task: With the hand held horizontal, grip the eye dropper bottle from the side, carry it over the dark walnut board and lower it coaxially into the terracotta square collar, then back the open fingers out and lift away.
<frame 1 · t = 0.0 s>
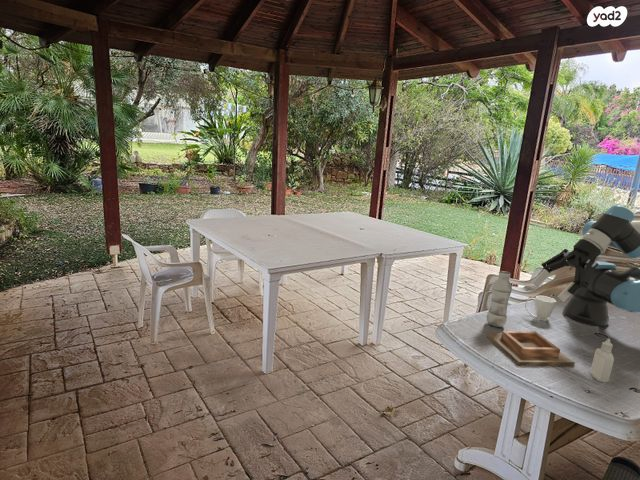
hand: (546, 291, 138), 15 cm above the table, tool tilted 35°, fingers open, 13 cm apart
eye dropper bottle: (598, 378, 115), on the table
collar board: (527, 350, 128), on the table
plastic bottle: (495, 325, 145), on the table
cup: (537, 317, 155), on the table
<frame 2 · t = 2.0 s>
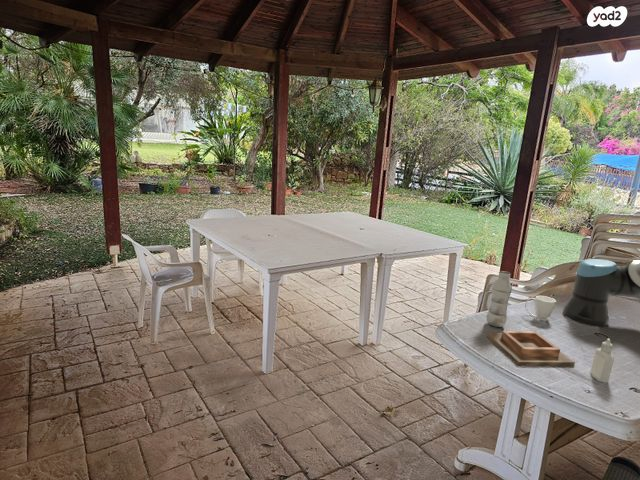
nothing on the table moved.
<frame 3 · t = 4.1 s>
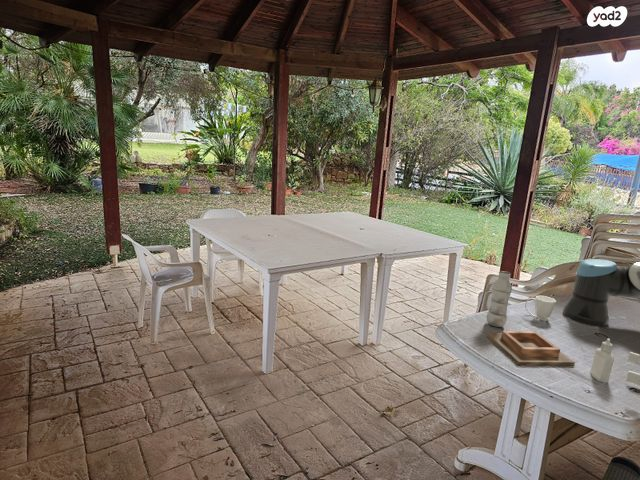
hand: (627, 365, 110), 6 cm above the table, tool horizontal, fingers open, 13 cm apart
nothing on the table moved.
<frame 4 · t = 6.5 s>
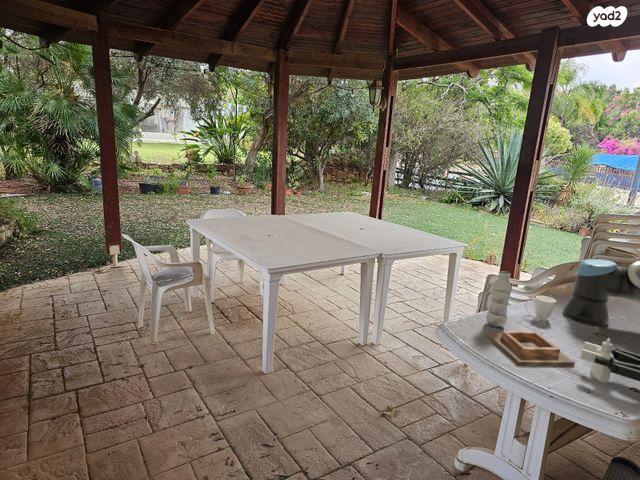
hand: (582, 349, 116), 7 cm above the table, tool horizontal, fingers closed on eye dropper bottle, 5 cm apart
eye dropper bottle: (598, 378, 115), on the table, touching gripper
everything else where it was.
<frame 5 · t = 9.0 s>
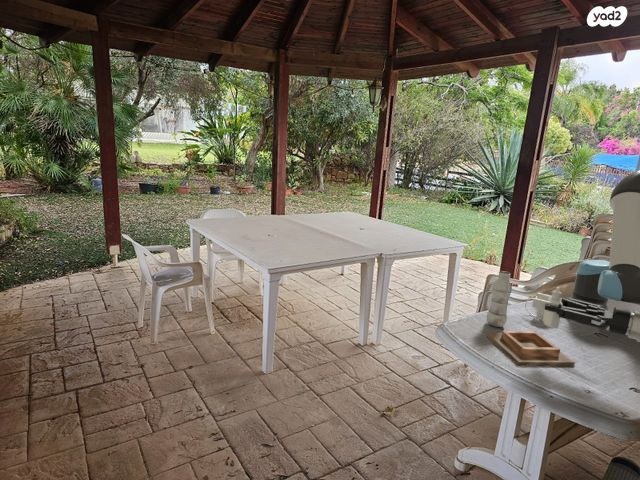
hand: (535, 299, 123), 18 cm above the table, tool horizontal, fingers closed on eye dropper bottle, 5 cm apart
eye dropper bottle: (549, 325, 121), point 11 cm above the table, touching gripper
everything else where it was.
when the fingers open (9 cm above the table, at t = 11.7 s): eye dropper bottle drops 1 cm, resting on collar board.
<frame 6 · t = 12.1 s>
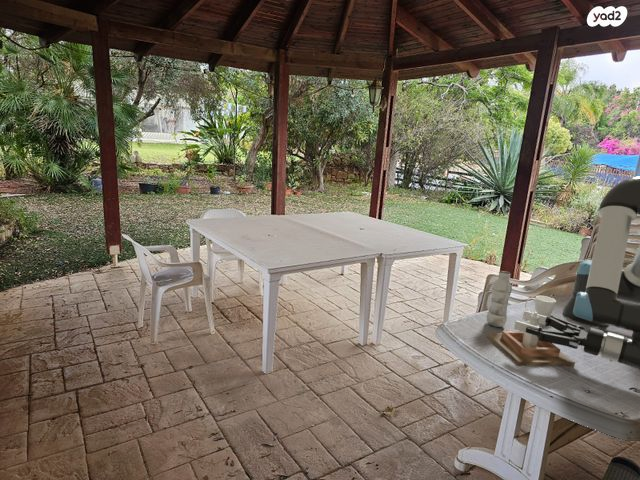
hand: (519, 319, 128), 9 cm above the table, tool horizontal, fingers open, 10 cm apart
eye dropper bottle: (528, 346, 127), point 1 cm above the table, touching collar board
everything else where it was.
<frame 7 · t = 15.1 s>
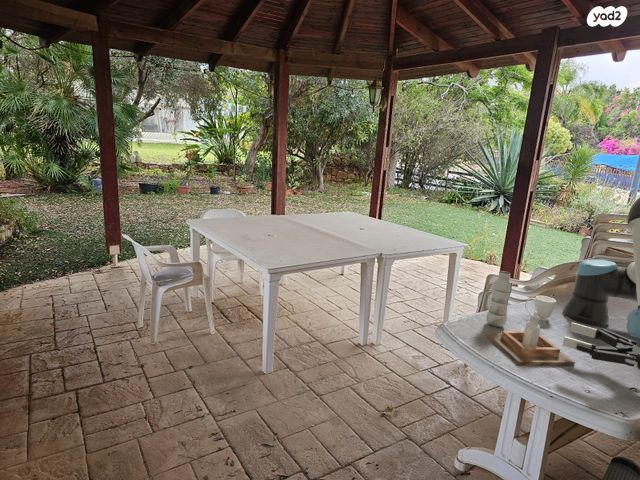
hand: (567, 333, 120), 9 cm above the table, tool horizontal, fingers open, 13 cm apart
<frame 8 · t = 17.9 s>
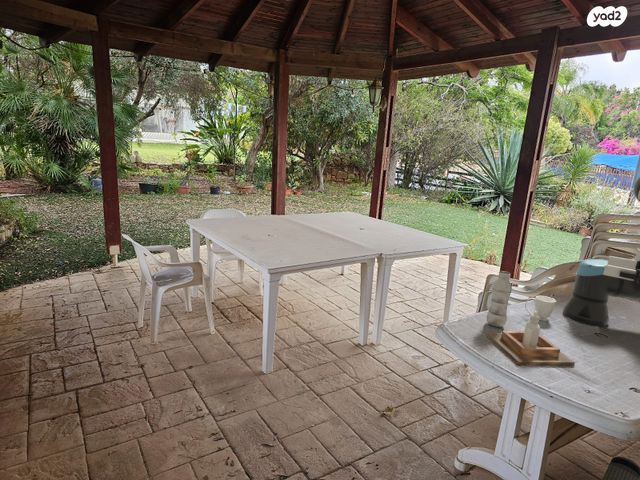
hand: (606, 264, 112), 32 cm above the table, tool horizontal, fingers open, 13 cm apart
nothing on the table moved.
at the end: eye dropper bottle 0.0 cm off-centre on the collar board, point 1.0 cm above the collar board's base; eye dropper bottle tilted 0°; the gripper is holding nothing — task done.
